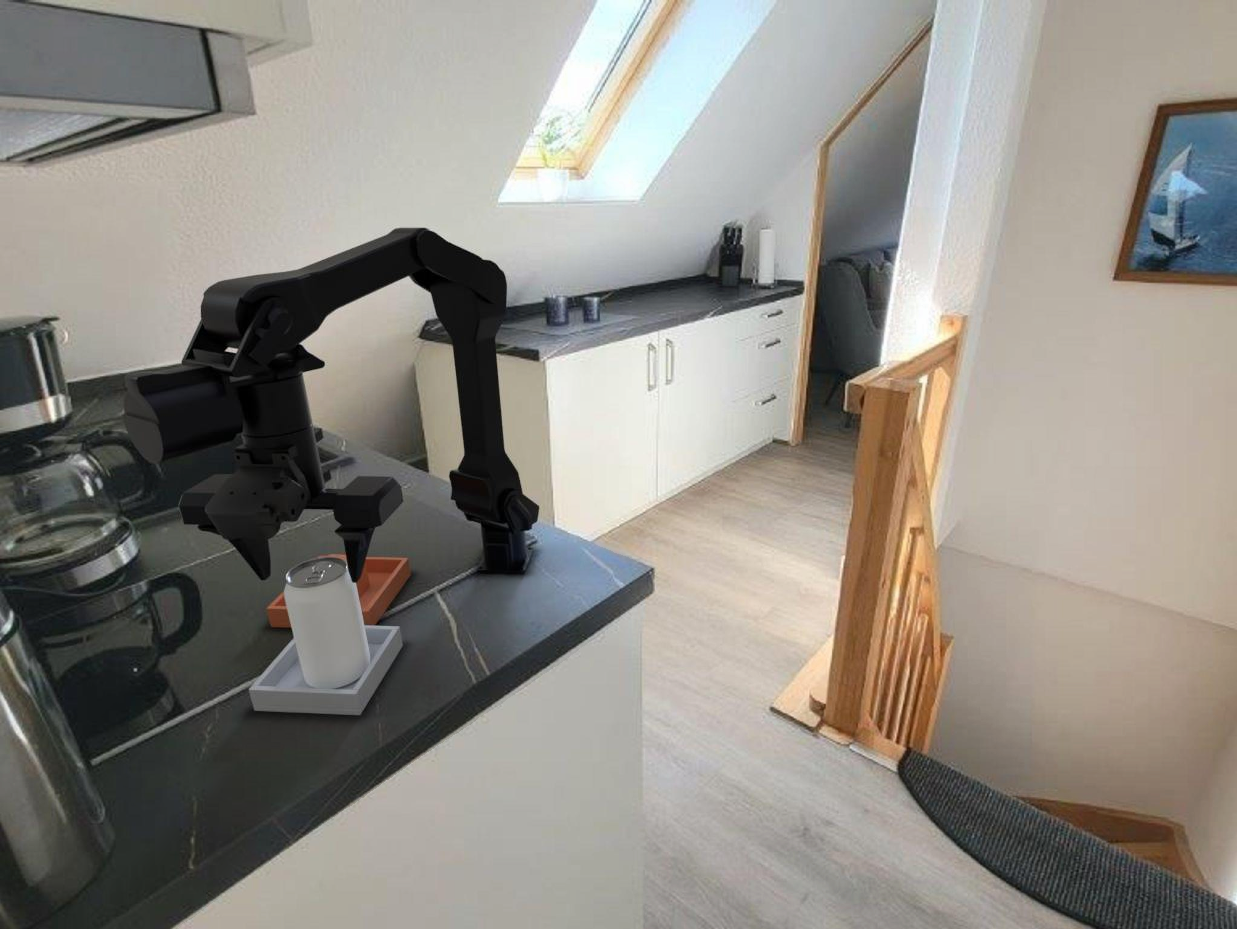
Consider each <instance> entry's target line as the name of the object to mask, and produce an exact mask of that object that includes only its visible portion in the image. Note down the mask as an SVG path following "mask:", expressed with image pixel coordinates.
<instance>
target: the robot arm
mask: <svg viewBox="0 0 1237 929" xmlns="http://www.w3.org/2000/svg"><path fill="white" fill-rule="evenodd" d="M407 277H409V279H410V280H411V281H412V282H413V283H414V284H415V285H416V286H418V287H420V288H421V289H423V290H425V291H426V292H428V293H430V295H431V300H432V304H433V308H434V312H435V315H436V317H437V319H438V320H439V322H440V323H441V325H442V327H443V328H444V330H445V331H446V333H447V335H448V336H449V338H450V339H451V344H452V351H453V353H452V354H453V361H454V371H455V380H456V389H457V398H458V407H459V416H460V425H461V434H462V435H461V436H462V445H463V453H464V454H463V457H462V458H461V461H460V462H459V464H458V467H457V468H456V469H455V468H454V469H451V470H450V471H449V474H448V478H449V481H450V486H451V493H450V500H451V501H454V502H455V506H456V508H457V510H459V511H460V512H462V513H463V515H464V517H465V519H466V521H468V522H473V523H477V524H480V532H481V539H482V549H483V556H482V558H481V559H480V561H479V563H478V565H477V567H476V572H477V573H479V574H480V573H481V574H514V575H515V574H521V575H522V574H525V572H526V571H527V569H528V567H529V563H530V561H531V559H532V556H533V555H534V554H533V553H534V547H533V546H527V542H526V532H527V531H531V530H532V529H533V525H534V524H536V523H537V522H538V520H539V515H540V514H539V513H540V505H539V504H537V503H536V502H534V501H533V500H532V499H530V498H529V497H528V496H526V494H524V492H523V487H522V483H521V478H520V474H519V471H518V469H517V468H516V466H515V465H514V463H513V462H512V460H511V459H510V457H509V456H508V453H507V452H506V449H505V438H504V426H503V416H502V415H503V414H502V405H501V404H502V403H501V402H502V401H501V393H500V381H499V368H498V357H497V345H496V344H497V343H496V337H497V335H498V333H499V330H500V328H501V326H502V324H503V322H504V320H505V318H506V315H507V301H508V300H507V299H508V298H507V297H508V282H507V277H506V274H505V271H504V270H503V269H501V268H500V266H499V265H498V263H496V262H494V261H493V260H491V259H484V258H482V257H481V256H479V255H477V254H476V253H474V252H471V251H469V250H467V249H465V248H463V247H462V246H459V245H457V244H454V243H452V242H451V241H448V240H447V239H445V238H443V237H442V236H441V235H440V234H438V233H437V232H435V231H434V230H431V229H430V228H428V227H396V228H394V229H392V230H391V231H390V232H388V233H387V234H385V235H382V236H380V237H377V238H374V239H372V240H369V241H366V242H364V243H362V244H359V245H357V246H355V247H351V248H349V249H347V250H346V249H345V250H344V251H341V252H338V253H335V254H334V255H331V256H328V257H326V258H323V259H321V260H318V261H315V262H314V263H311V264H308V265H306V266H302V267H300V268H297V269H292V270H287V271H280V272H279V271H278V272H270V273H269V272H268V273H261V274H260V273H259V274H252V275H246V276H240V277H234V278H230V279H229V278H228V279H223V280H219V281H216V282H214V284H212V285H210V286H208V287H207V289H205V291H204V292H203V297H202V301H201V304H200V320H199V323H198V325H197V326H196V329H195V332H194V333H193V335H192V338H191V339H190V342H189V344H188V346H187V348H186V351H185V353H184V354H183V357H182V359H181V365H182V366H177V367H172V368H167V369H162V370H155V371H154V370H153V371H148V370H142V371H137V372H130V373H126V374H125V376H124V381H125V385H126V389H127V391H126V392H125V394H124V396H123V413H122V414H121V418H122V422H123V424H124V427H125V430H126V432H127V435H128V437H129V438H130V441H131V442H132V444H133V445H134V447H135V449H136V450H137V451H138V453H139V454H140V455H141V457H143V458H144V459H145V460H146V461H148V462H149V463H151V464H154V465H156V464H161V463H164V462H167V461H172V460H174V459H179V458H181V457H185V456H188V455H192V454H195V453H198V452H202V451H205V450H209V449H212V448H215V447H216V448H217V447H219V446H222V445H225V444H229V443H232V442H233V441H235V438H236V437H237V435H239V434H241V438H242V442H243V443H242V444H240V445H238V446H236V447H234V455H233V459H234V462H235V468H234V473H233V474H232V473H228V474H227V473H226V474H225V473H214V474H212V475H211V476H209V477H208V478H206V479H204V480H202V481H201V482H199V483H197V484H195V485H194V486H192V487H190V488H188V489H187V490H185V491H184V492H182V494H181V495H180V499H179V501H178V505H177V507H178V510H179V513H180V516H181V520H182V523H183V525H188V526H189V525H190V526H197V527H196V528H197V529H198V530H199V531H201V532H208V533H210V534H211V533H212V534H214V535H218V536H221V538H222V539H223V540H227V541H228V542H229V543H230V544H231V545H232V546H233V547H234V548H235V550H236V551H237V552H238V553H239V554H240V556H241V557H242V558H243V559H244V561H245V562H246V563H247V564H248V566H249V567H250V568H251V570H252V571H253V572H254V573H255V574H256V576H257V577H258V578H259V580H260V581H266V580H268V579H269V578H270V577H271V574H272V559H271V552H270V551H271V550H270V544H269V540H270V539H272V538H273V537H275V536H276V535H277V534H278V533H279V531H280V529H281V525H282V524H283V523H287V522H288V523H289V522H290V523H295V522H297V521H298V520H299V519H300V517H301V515H302V514H303V512H304V510H319V511H320V510H323V511H324V510H325V511H332V513H333V518H334V521H336V522H337V523H338V524H340V525H339V526H338V527H337V528H335V530H334V533H335V534H336V535H337V536H338V537H340V538H341V539H342V541H343V546H344V551H345V555H346V559H347V565H348V571H349V574H350V577H351V580H352V582H353V583H357V582H358V580H359V579H360V578H361V575H362V571H363V567H364V564H365V560H366V557H368V552H369V549H370V545H371V541H372V538H373V535H374V532H375V530H376V528H379V527H381V526H383V525H384V524H385V523H386V521H387V520H389V519H390V517H391V516H392V515H393V514H394V512H396V510H398V508H400V506H401V505H402V504H403V503H404V496H403V490H402V486H401V484H400V482H398V480H396V479H395V478H394V476H383V475H380V476H379V475H377V476H374V475H373V476H371V475H358V476H356V477H355V478H354V479H353V480H352V481H350V482H349V483H348V484H347V485H346V486H345V487H343V488H326V484H327V483H328V482H329V481H330V480H332V474H331V473H332V472H331V468H322V463H321V458H320V453H319V448H318V443H319V442H320V441H321V440H323V439H324V433H323V428H322V427H314V422H313V418H312V413H311V408H310V404H309V399H308V393H307V389H306V384H305V383H306V382H305V379H304V374H303V373H306V372H311V371H316V370H320V369H323V368H324V367H325V366H326V362H325V360H323V359H322V358H320V357H318V356H317V355H314V354H313V353H311V352H310V351H309V350H308V349H306V347H305V345H303V344H301V343H303V342H304V341H305V340H306V339H308V338H309V337H310V336H312V335H313V334H315V333H316V332H317V331H319V329H320V327H321V326H322V325H323V323H324V321H325V320H326V319H327V317H328V316H329V315H331V314H332V313H334V312H335V311H336V310H339V309H340V308H343V307H345V306H347V305H349V304H351V303H353V302H355V301H359V300H360V299H361V298H364V297H367V296H368V295H372V294H374V293H375V292H377V291H379V290H381V289H384V288H386V287H388V286H390V285H393V284H394V283H396V282H399V281H401V280H403V279H406V278H407ZM228 349H235V350H236V349H237V350H236V352H232V351H227V350H228Z"/></svg>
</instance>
